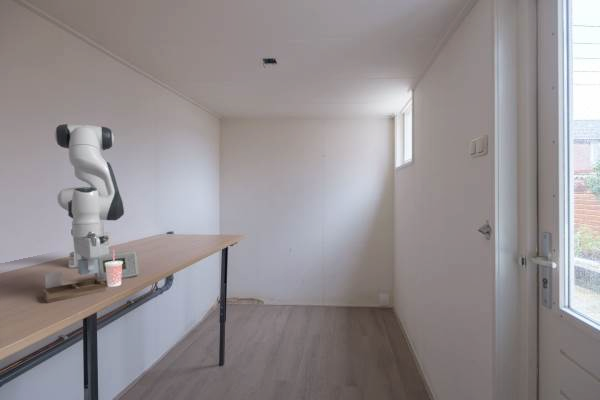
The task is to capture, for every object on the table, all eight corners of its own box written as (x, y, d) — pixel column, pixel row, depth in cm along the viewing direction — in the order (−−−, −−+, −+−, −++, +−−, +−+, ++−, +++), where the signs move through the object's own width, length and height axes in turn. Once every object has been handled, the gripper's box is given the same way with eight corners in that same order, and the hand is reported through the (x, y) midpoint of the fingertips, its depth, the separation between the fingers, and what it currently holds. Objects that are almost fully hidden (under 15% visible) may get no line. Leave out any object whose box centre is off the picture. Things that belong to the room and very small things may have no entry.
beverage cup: (110, 282, 124) (109, 248, 124) (126, 282, 125) (125, 248, 124) (101, 287, 118) (101, 251, 118) (118, 287, 118) (117, 251, 118)
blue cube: (78, 273, 114) (77, 259, 114) (93, 270, 118) (93, 257, 117) (81, 275, 110) (81, 261, 110) (97, 272, 114) (97, 259, 114)
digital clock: (93, 284, 122) (93, 258, 122) (94, 279, 130) (93, 254, 130) (139, 278, 131) (138, 253, 130) (137, 273, 138) (137, 250, 138)
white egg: (44, 289, 116) (44, 274, 116) (61, 286, 119) (60, 271, 119) (47, 292, 112) (46, 276, 112) (64, 289, 116) (63, 273, 116)
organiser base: (42, 296, 108) (42, 289, 108) (98, 285, 121) (97, 278, 121) (47, 303, 102) (47, 294, 102) (105, 290, 115) (105, 283, 114)
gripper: (105, 232, 109) (106, 271, 109) (89, 228, 123) (90, 262, 123) (84, 234, 104) (85, 274, 105) (69, 229, 118) (70, 265, 118)
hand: (87, 268), depth 114 cm, fingers closed on blue cube, 5 cm apart
